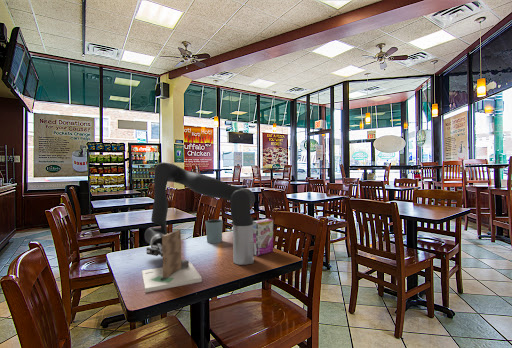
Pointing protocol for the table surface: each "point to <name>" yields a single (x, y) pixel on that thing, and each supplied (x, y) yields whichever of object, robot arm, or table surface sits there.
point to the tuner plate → (169, 278)
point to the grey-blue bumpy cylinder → (214, 231)
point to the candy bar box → (263, 236)
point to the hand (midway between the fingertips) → (165, 255)
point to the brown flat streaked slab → (172, 254)
